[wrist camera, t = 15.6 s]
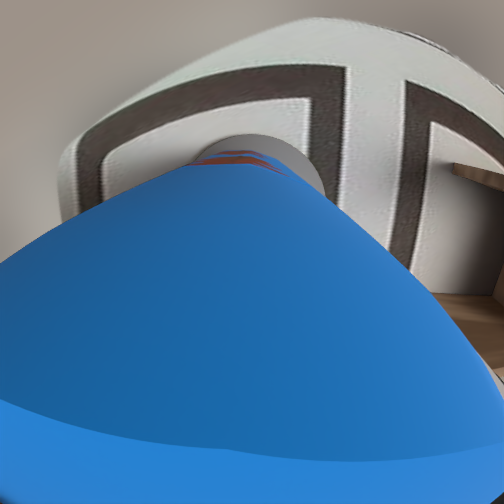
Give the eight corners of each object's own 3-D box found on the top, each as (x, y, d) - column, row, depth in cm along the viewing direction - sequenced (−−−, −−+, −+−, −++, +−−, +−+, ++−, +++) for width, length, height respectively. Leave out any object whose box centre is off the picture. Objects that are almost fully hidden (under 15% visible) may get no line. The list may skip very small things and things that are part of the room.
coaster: (310, 280, 29) (311, 284, 29) (177, 266, 29) (175, 269, 28) (334, 146, 25) (336, 146, 24) (186, 128, 24) (184, 128, 23)
